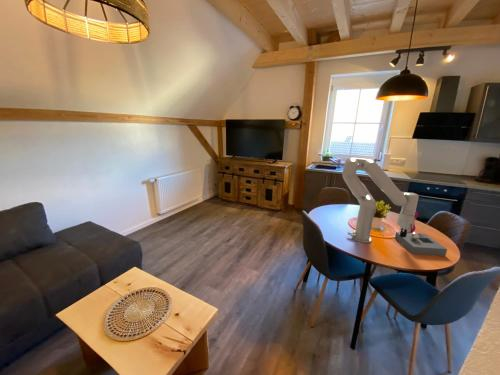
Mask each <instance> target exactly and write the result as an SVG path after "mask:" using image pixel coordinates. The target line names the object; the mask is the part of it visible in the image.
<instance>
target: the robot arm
mask: <svg viewBox="0 0 500 375" xmlns="http://www.w3.org/2000/svg"><path fill="white" fill-rule="evenodd" d="M357 171H362V172H364V173H366V174H367V175H368V177H369V178H370V179H371V180H372V182H373V183H374V184H375V185H376V187H378V189H380V190H381V191H382V192H383V193H384V194H385V195H386V196H387V198H389V200H390V201H391V202H392V204H394V205H395V206H397V207H401V210H400V212H399V214H398V217H397V221H396V224H397V225H398V226H399V227H400V231H399V232H400V236H401V237H406V235H407V232H411V230H412V229H413V225H414V224H415V222H414V215H415V212H417V206H418V202H419V194H417V193H415V192H405V191H401V190H400V188H398V187H397V185H396V184H395V183H394V182H393V181H392V179H391V178H390V176H389V175H388V174H387V173H386V172H385V171H384V170H383V169H382V167H381V166H380V165H379V164H378V163H377V162H376V161H374V160H373V159H370V158H367V159H366V158H361V157H359V158H358V157H349V158H347V159H346V160H345V161H344V167H343V169H342V174H341V176H342V179H343V181H344V183H346V185H347V187H348V189H349V190H350V192H351V193H352V195H353V196H354V197H355V198H356V200H357V201H358V203H359V209H358V213H357V214H358V215H357V219H356V225H355V230H353V231H352V232H351V231H348V232H347V235H348V236H351V237H352V240H355V241H357V242H359V243H364V244H370V243H371V242H372V238H371V232H372V226H373V220H374V217H375V216H374V215H375V212H376V210H377V202H376V200H375V199H374V197H373V195H372V194H371V193H370V191H369V189H368V188H367V187H366V184H364V183H363V182H362V181H361V180H360V178H359V177H358V175H357Z"/></svg>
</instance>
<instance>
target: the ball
mask: <svg viewBox="0 0 500 375" xmlns="http://www.w3.org/2000/svg"><path fill="white" fill-rule="evenodd" d="M417 233H418V232H414V233H411V234H410V238H411V239H413V240H418V239H419V235H418V234H417Z"/></svg>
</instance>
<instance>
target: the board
mask: <svg viewBox="0 0 500 375" xmlns="http://www.w3.org/2000/svg"><path fill="white" fill-rule="evenodd" d="M400 232H401V231H396V232H395V236H394V239H395V240H396V241H397V242H398V243H399V244H400V245H402V246H403V247H404V248H405V249H406V251H408V252H409V253H411V255H412V254H413V255H421V256H422V255H424V256H425V255H427V256H439V257H440V256H441V257H446V255H447V253H448V248H447V247H445V246H444V245H442V244H441V243H440V242H438V241H437V240H435V239H434V238H432V237H431V236H429V235H428V234H426V233H419V232H416V233H417V234H418V235H419V239H418V240H413V239H411V238H410V234H411V233H407V235H406V237H401V236H400Z"/></svg>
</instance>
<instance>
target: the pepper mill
mask: <svg viewBox="0 0 500 375" xmlns="http://www.w3.org/2000/svg"><path fill="white" fill-rule="evenodd" d="M418 216H419V214H418V212H417V211H416V212H415V215H414V225H413V229H412V230H411V232H407V233H415V231H416V225H415V221H416V220H417V218H418Z"/></svg>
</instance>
